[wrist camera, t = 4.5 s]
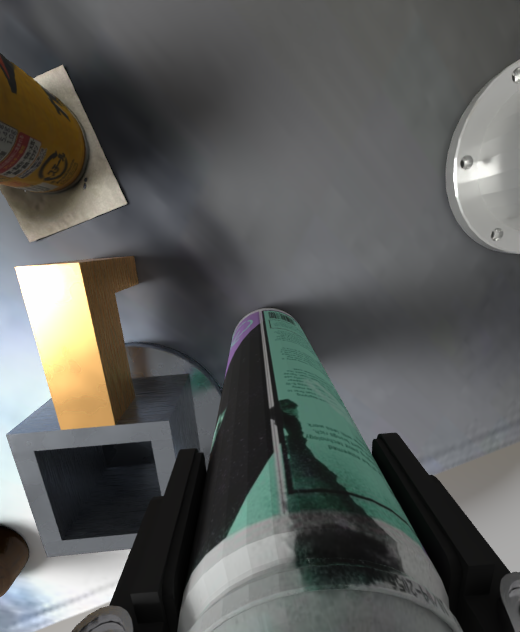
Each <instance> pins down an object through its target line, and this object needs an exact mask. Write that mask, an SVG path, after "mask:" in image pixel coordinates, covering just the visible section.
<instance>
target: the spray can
mask: <svg viewBox="0 0 520 632" xmlns="http://www.w3.org/2000/svg"><path fill="white" fill-rule="evenodd" d="M177 632H463V630H462V629H461V627H460V625H459V623H458V621H457V619H456V618H455V616H454V615H453V614H452V613H451V611H450V610H449V598H448V595H447V593H446V590H445V587H444V585H443V582H442V580H441V578H440V576H439V574H438V573H437V571H436V569H435V567H434V565H433V564H432V562H431V560H430V558H429V556H428V555H427V553H426V551H425V549H424V547H423V546H422V544H421V542H420V540H419V538H418V537H417V535H416V533H415V531H414V529H413V528H412V526H411V524H410V522H409V520H408V519H407V517H406V515H405V513H404V512H403V510H402V508H401V506H400V504H399V503H398V501H397V499H396V497H395V495H394V494H393V492H392V490H391V488H390V486H389V485H388V483H387V481H386V479H385V477H384V476H383V474H382V472H381V470H380V468H379V467H378V465H377V463H376V461H375V459H374V458H373V456H372V454H371V452H370V451H369V449H368V447H367V445H366V443H365V442H364V440H363V438H362V436H361V434H360V433H359V431H358V429H357V427H356V425H355V424H354V422H353V420H352V418H351V416H350V415H349V413H348V411H347V409H346V407H345V406H344V404H343V402H342V400H341V398H340V397H339V395H338V393H337V391H336V390H335V388H334V386H333V384H332V382H331V381H330V379H329V377H328V375H327V373H326V372H325V370H324V368H323V366H322V364H321V363H320V361H319V359H318V357H317V355H316V354H315V352H314V350H313V348H312V346H311V345H310V343H309V341H308V339H307V337H306V336H305V334H304V332H303V330H302V329H301V327H300V325H299V324H298V322H297V321H296V320H295V319H294V318H293V317H292V316H291V315H289V314H288V313H286V312H284V311H282V310H279V309H274V308H263V309H258V310H255V311H253V312H251V313H249V314H248V315H246V316H245V317H244V318H243V319H242V320H241V321H240V322H239V323H238V325H237V327H236V329H235V331H234V334H233V337H232V343H231V348H230V353H229V358H228V364H227V369H226V374H225V379H224V384H223V390H222V395H221V400H220V405H219V411H218V416H217V421H216V426H215V432H214V437H213V442H212V447H211V453H210V458H209V463H208V468H207V473H206V479H205V484H204V489H203V494H202V500H201V505H200V510H199V515H198V521H197V526H196V531H195V536H194V541H193V547H192V552H191V557H190V562H189V568H188V573H187V578H186V583H185V589H184V594H183V599H182V604H181V610H180V616H179V623H178V629H177Z"/></svg>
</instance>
